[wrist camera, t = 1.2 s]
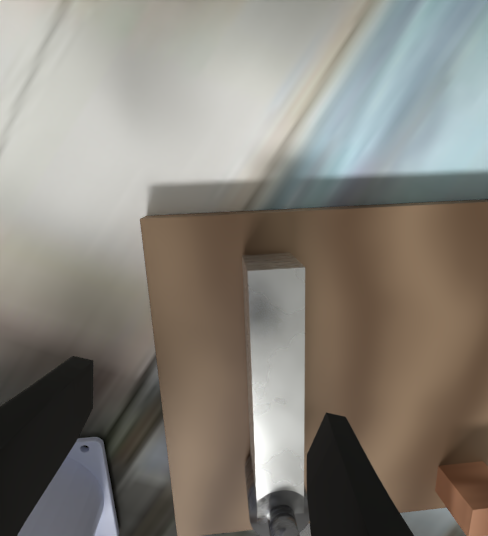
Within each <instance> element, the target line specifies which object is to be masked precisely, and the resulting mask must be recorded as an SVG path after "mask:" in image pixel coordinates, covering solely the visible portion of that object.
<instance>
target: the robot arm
mask: <svg viewBox="0 0 488 536" xmlns="http://www.w3.org/2000/svg"><path fill="white" fill-rule="evenodd" d="M92 408H93V361H92V360H88V359H83V358H79V357H74V356H73V357H71V358H69V359H68V360H67V361H65V362H64V363H62V364H61V365H60V366H58V367H57V368H55V369H54V370H53V371H51V372H50V373H48V374H47V375H46V376H44V377H43V378H41V379H40V380H39V381H37V382H36V383H34V384H33V385H31V386H30V387H29V388H27V389H26V390H24V391H23V392H21V393H20V394H18V395H17V396H15V397H14V398H12V399H11V400H9V401H8V402H6V403H5V404H4V405H2V406H1V407H0V536H119V528H118V522H117V516H116V510H115V505H114V499H113V493H112V487H111V482H110V476H109V470H108V464H107V459H106V453H105V447H104V442H103V440H102V439H101V438H98V437H87V438H78V437H79V435H80V433H81V431H82V429H83V427H84V425H85V423H86V421H87V419H88V417H89V415H90V412H91V410H92ZM83 445H86V446H88V448H86V447H84V446H83ZM307 500H308V510H309V519H310V529H311V536H414V535H413V533H412V532H411V530H410V529H409V527H408V526H407V524H406V522H405V521H404V519H403V518H402V516H401V514H400V513H399V511H398V509H397V508H396V506H395V504H394V503H393V501H392V499H391V498H390V496H389V494H388V493H387V491H386V489H385V487H384V486H383V484H382V482H381V480H380V479H379V477H378V475H377V474H376V472H375V470H374V468H373V466H372V465H371V463H370V461H369V459H368V457H367V455H366V453H365V452H364V450H363V448H362V446H361V444H360V442H359V440H358V439H357V437H356V435H355V433H354V431H353V429H352V427H351V425H350V423H349V422H348V420H347V418H346V417H345V416H340V415H336V414H331V413H327V412H326V413H325V416H324V418H323V420H322V422H321V425H320V427H319V429H318V431H317V433H316V436H315V438H314V440H313V442H312V444H311V447H310V449H309V451H308V453H307Z"/></svg>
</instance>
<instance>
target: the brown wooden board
mask: <svg viewBox="0 0 488 536" xmlns="http://www.w3.org/2000/svg"><path fill="white" fill-rule="evenodd" d="M140 223H141V232H142V240H143V249H144V257H145V266H146V274H147V282H148V291H149V299H150V308H151V316H152V325H153V333H154V342H155V350H156V359H157V367H158V376H159V384H160V393H161V401H162V410H163V418H164V426H165V435H166V443H167V452H168V460H169V469H170V477H171V486H172V494H173V503H174V511H175V520H176V528H177V536H201V535H210V534H218V533H227V532H236V531H245V530H253V528H252V526H251V524H250V519H249V509H248V499H247V489H246V479H245V463H246V461H247V459H248V457H249V456H250V455H251V451H250V428H249V405H248V382H247V359H246V336H245V312H244V289H243V266H242V255H257V254H274V253H291V254H292V255H293V256H294V257H295V258H296V259H297V260H298V261H299V262H300V263H301V264H302V265H303V266H304V267H305V399H304V485H305V488H306V492H307V453H308V451H309V449H310V447H311V444H312V442H313V440H314V438H315V436H316V433H317V431H318V429H319V427H320V425H321V422H322V420H323V418H324V416H325V413H326V412H327V413H331V414H336V415H340V416H345V417H346V418H347V420H348V422H349V423H350V425H351V427H352V429H353V431H354V433H355V435H356V437H357V439H358V440H359V442H360V444H361V446H362V448H363V450H364V452H365V453H366V455H367V457H368V459H369V461H370V463H371V465H372V466H373V468H374V470H375V472H376V474H377V475H378V477H379V479H380V480H381V482H382V484H383V486H384V487H385V489H386V491H387V493H388V494H389V496H390V498H391V499H392V501H393V503H394V504H395V506H396V508H397V509H398V511H399V513H402V512H411V511H420V510H429V509H437V508H446V507H447V509H448V510H449V511H450V513H451V514H452V516H453V517H454V518H455V520H456V521H457V523H458V524H459V526H460V527H461V528H462V530H463V531H464V533H465V534H466V535H467V536H487V535H488V199H483V200H462V201H442V202H421V203H401V204H380V205H360V206H339V207H319V208H298V209H278V210H257V211H236V212H216V213H195V214H175V215H154V216H145V217H143V218H141V219H140ZM309 523H310V521H309Z"/></svg>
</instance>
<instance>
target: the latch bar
mask: <svg viewBox="0 0 488 536" xmlns="http://www.w3.org/2000/svg"><path fill="white" fill-rule="evenodd" d="M242 266H243V289H244V312H245V336H246V359H247V382H248V405H249V428H250V451H251V455H250V456H249V457H248V459H247V461H246V463H245V479H246V489H247V499H248V509H249V519H250V524H251V526H252V528H253V530H254V531H255V532H256V533H257V534H259V535H260V536H300V535H299V533H300V532H301V531H302V530H303V529H304V528H305V527H306V526H307V524H308V523H309V521H310V519H309V510H308V500H307V492H306V488H305V485H304V399H305V267H304V266H303V265H302V264H301V263H300V262H299V261H298V260H297V259H296V258H295V257H294V256H293V255H292V254H291V253H274V254H257V255H242Z"/></svg>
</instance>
